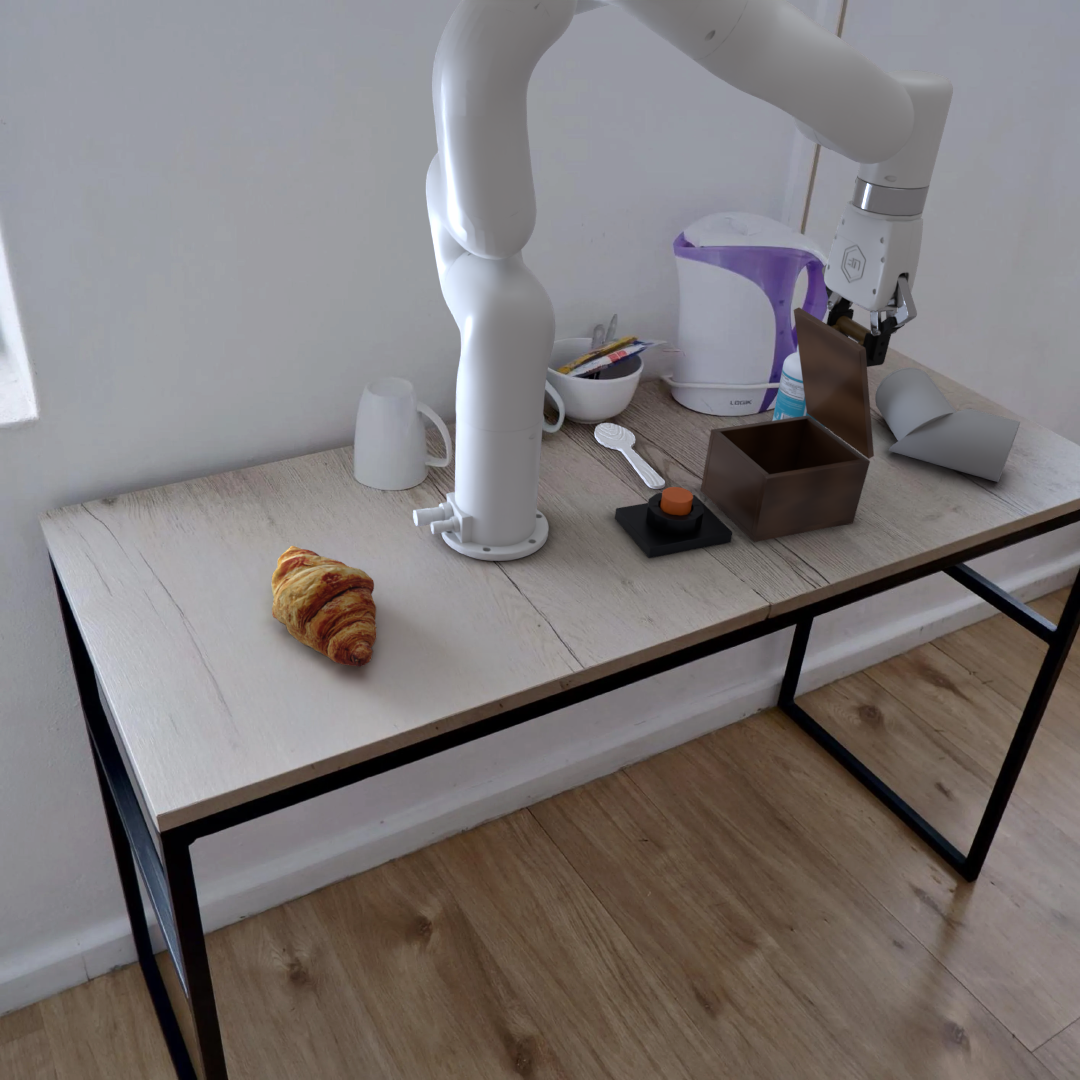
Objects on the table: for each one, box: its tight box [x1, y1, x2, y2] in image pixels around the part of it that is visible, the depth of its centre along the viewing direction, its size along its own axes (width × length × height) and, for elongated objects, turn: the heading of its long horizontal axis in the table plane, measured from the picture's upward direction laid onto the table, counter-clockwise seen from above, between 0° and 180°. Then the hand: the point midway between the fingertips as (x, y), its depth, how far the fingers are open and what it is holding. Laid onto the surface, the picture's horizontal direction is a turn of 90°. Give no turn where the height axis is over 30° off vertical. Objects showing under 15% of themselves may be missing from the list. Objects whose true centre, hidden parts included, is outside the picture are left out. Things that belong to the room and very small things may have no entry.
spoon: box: [594, 422, 666, 490], centre depth 136 cm, size 5×18×1 cm, turn 21°
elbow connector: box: [874, 366, 1021, 483], centre depth 141 cm, size 18×10×20 cm
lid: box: [793, 306, 875, 460], centre depth 120 cm, size 15×13×5 cm
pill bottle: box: [771, 344, 826, 428], centre depth 142 cm, size 8×7×14 cm
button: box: [660, 486, 694, 516], centre depth 119 cm, size 4×4×2 cm
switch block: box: [614, 492, 733, 559], centre depth 120 cm, size 11×9×4 cm
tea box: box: [700, 415, 871, 543], centre depth 125 cm, size 15×13×9 cm
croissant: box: [271, 545, 377, 668], centre depth 102 cm, size 21×10×8 cm, turn 32°
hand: (852, 352), depth 119 cm, fingers closed on lid, 6 cm apart
